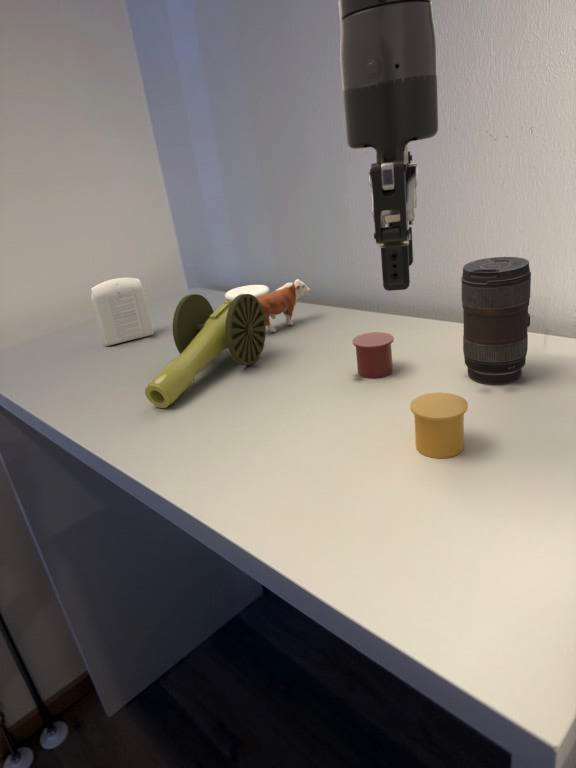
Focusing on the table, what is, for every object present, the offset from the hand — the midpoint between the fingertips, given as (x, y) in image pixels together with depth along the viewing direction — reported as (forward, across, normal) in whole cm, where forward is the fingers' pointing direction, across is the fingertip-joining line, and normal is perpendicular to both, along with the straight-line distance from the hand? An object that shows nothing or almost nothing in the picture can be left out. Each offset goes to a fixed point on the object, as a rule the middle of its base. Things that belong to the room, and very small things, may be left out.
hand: (399, 276), depth 50 cm
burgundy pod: (+19, +22, +6) cm, 30 cm away
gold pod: (+19, +1, -3) cm, 19 cm away
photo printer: (+19, +42, +57) cm, 73 cm away
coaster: (+20, +61, +38) cm, 74 cm away
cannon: (+19, +22, +32) cm, 44 cm away
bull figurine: (+20, +45, +26) cm, 55 cm away
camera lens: (+20, +20, -10) cm, 30 cm away
